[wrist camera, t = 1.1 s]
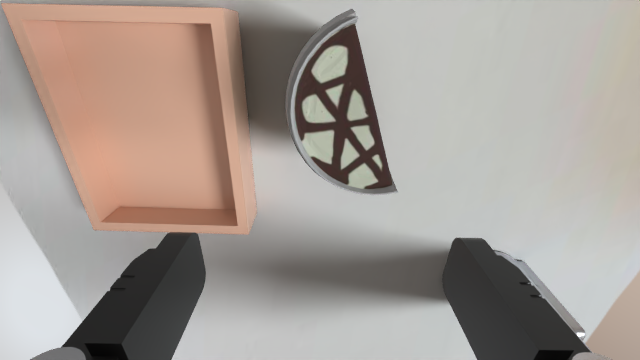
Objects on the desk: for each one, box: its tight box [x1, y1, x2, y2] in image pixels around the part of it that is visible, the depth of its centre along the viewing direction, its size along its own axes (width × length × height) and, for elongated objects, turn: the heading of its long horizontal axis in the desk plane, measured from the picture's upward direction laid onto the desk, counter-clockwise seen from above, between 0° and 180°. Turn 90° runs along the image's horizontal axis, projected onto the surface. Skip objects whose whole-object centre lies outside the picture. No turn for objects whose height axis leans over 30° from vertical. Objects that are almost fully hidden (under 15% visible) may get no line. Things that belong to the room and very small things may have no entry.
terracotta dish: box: [1, 3, 257, 234], centre depth 27 cm, size 16×20×4 cm
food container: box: [285, 9, 398, 195], centre depth 23 cm, size 12×6×10 cm, turn 18°
